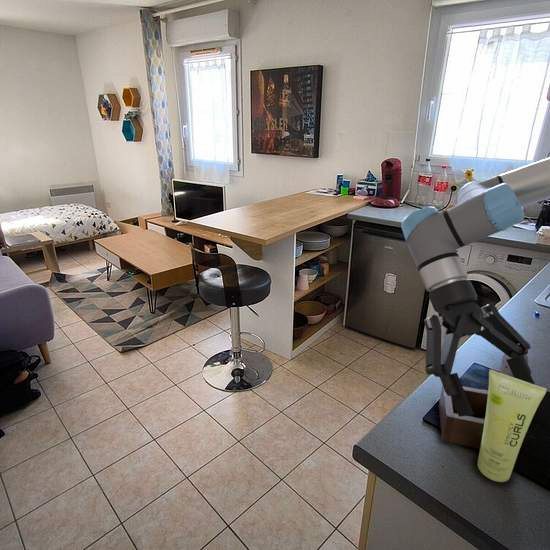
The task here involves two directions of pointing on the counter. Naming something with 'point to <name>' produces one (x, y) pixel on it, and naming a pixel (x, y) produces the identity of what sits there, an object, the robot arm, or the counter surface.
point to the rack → (463, 418)
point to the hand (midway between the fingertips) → (500, 405)
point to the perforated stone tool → (505, 367)
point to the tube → (506, 423)
